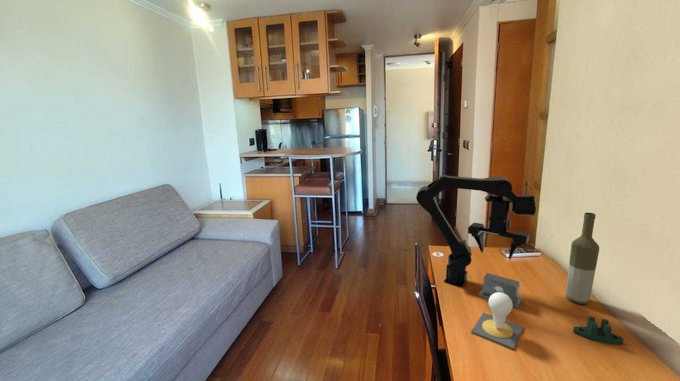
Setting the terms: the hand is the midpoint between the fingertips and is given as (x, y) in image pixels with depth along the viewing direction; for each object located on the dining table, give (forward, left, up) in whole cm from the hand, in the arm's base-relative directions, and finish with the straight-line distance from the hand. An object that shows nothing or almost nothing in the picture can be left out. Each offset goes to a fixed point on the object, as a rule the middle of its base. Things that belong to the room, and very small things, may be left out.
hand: (495, 255), depth 111 cm
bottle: (+24, +7, -12) cm, 28 cm away
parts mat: (+8, -25, -12) cm, 29 cm away
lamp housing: (+4, -7, -12) cm, 14 cm away
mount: (+30, -11, -12) cm, 34 cm away
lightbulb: (+8, -25, -11) cm, 28 cm away
